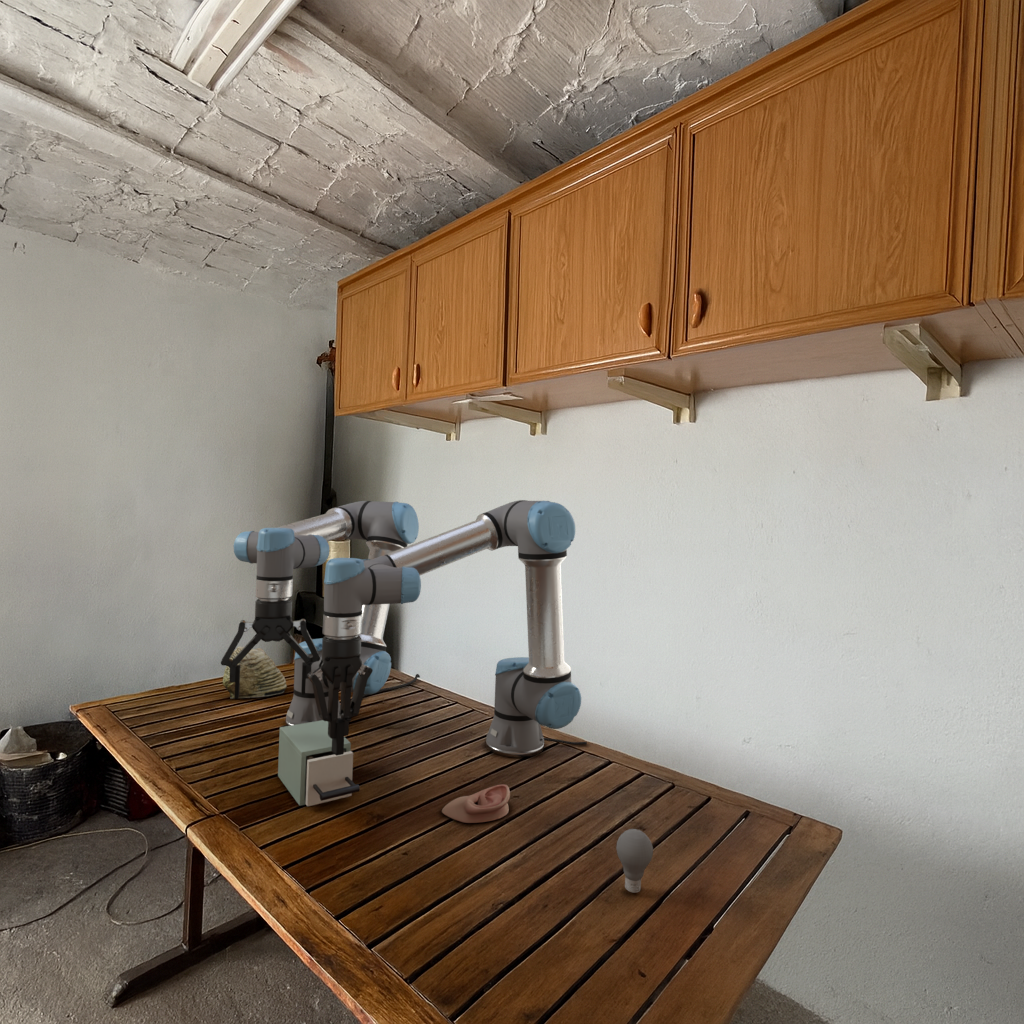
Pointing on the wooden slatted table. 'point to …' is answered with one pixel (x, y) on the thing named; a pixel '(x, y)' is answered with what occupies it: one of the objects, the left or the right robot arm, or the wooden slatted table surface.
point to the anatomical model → (480, 805)
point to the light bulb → (634, 857)
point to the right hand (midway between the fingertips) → (337, 752)
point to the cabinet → (301, 753)
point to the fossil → (255, 676)
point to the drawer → (329, 777)
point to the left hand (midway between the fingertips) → (270, 694)
